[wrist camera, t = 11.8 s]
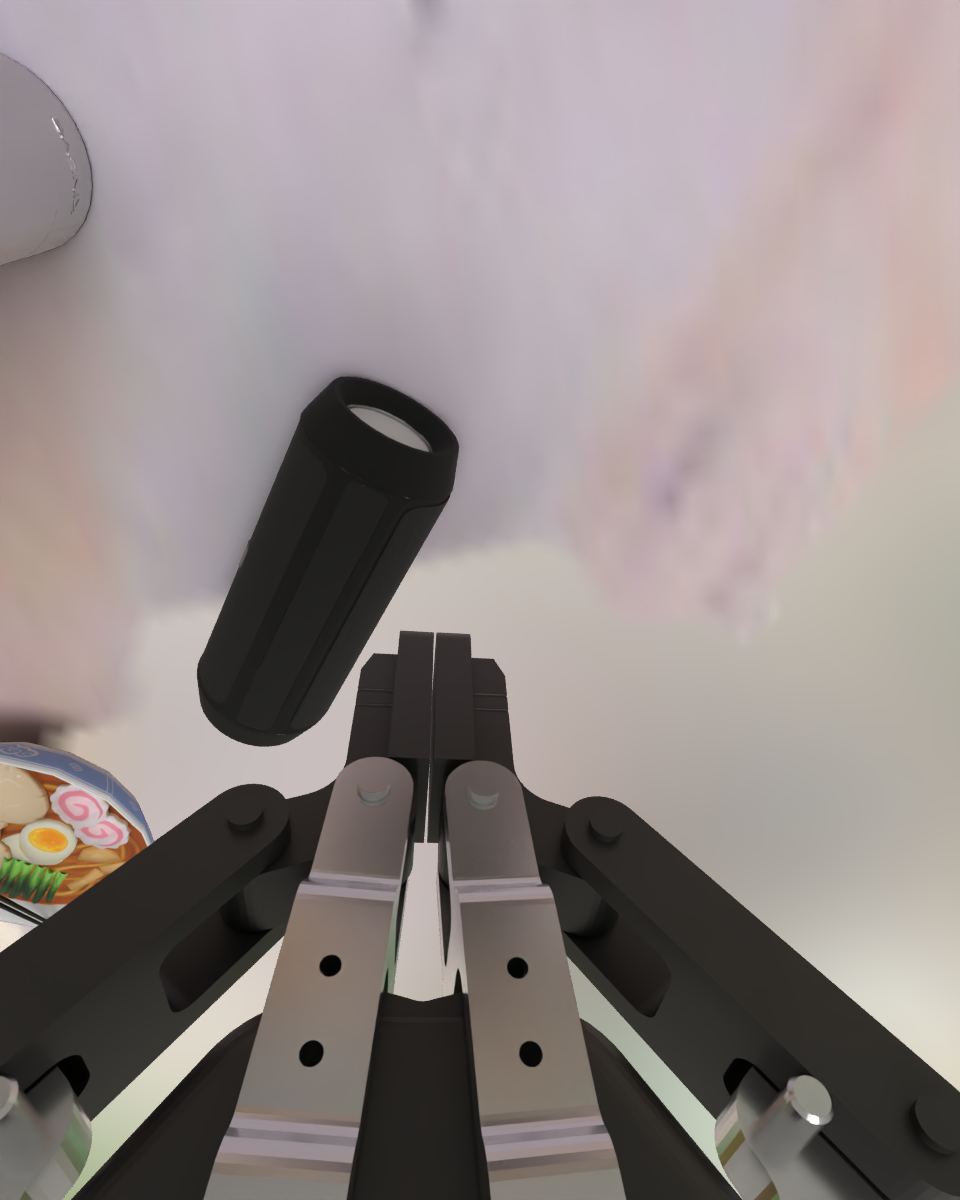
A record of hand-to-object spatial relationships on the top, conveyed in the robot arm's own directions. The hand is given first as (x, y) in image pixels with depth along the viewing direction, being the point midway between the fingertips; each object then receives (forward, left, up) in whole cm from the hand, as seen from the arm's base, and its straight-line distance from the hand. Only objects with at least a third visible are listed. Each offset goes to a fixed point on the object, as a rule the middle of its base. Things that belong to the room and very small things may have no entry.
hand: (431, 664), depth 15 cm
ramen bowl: (-33, -44, -33) cm, 64 cm away
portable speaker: (-8, -16, -33) cm, 38 cm away
